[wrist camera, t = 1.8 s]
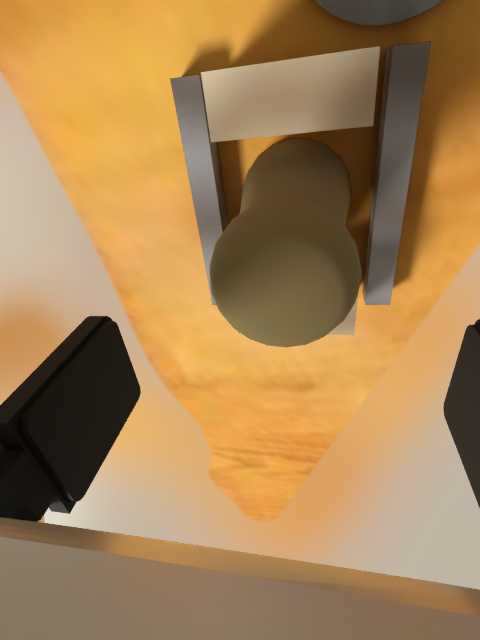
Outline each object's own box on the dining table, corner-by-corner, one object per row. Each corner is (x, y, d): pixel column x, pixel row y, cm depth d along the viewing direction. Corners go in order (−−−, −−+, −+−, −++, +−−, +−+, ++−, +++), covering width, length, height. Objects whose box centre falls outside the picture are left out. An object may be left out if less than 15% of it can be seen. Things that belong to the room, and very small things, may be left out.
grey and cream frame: (180, 77, 17) (144, 80, 14) (421, 42, 15) (455, 35, 11) (217, 293, 24) (200, 332, 21) (386, 291, 22) (399, 335, 18)
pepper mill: (375, 174, 18) (431, 274, 9) (311, 264, 22) (308, 396, 13) (275, 114, 17) (233, 161, 9) (225, 217, 21) (161, 324, 12)
